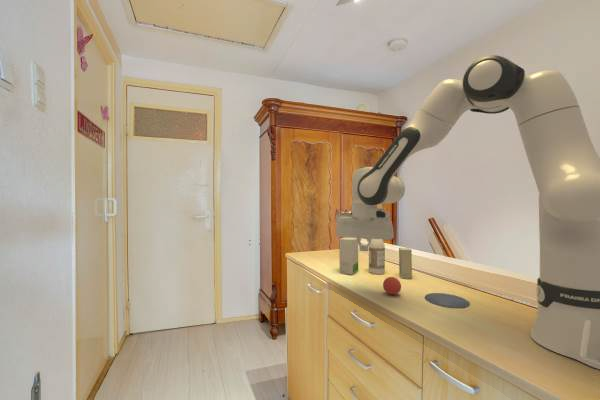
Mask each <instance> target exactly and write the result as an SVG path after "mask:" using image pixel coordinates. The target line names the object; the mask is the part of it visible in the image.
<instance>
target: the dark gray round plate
mask: <svg viewBox="0 0 600 400" xmlns="http://www.w3.org/2000/svg"><path fill="white" fill-rule="evenodd" d="M424 299H425V300H426V302H429V303H430V304H433V305H436V306H439V307H444V308H449V309H451V308H452V309H464V308H468V307H469V306H470V305H471V304H470V302H469V301H468V300H467V299H466V298H464V297H461V296H457V295H455V294H450V293H444V292H443V293H442V292H431V293H428V294H425V296H424Z"/></svg>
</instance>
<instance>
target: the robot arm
mask: <svg viewBox="0 0 600 400" xmlns="http://www.w3.org/2000/svg"><path fill="white" fill-rule="evenodd" d="M525 73H526V72H525V69H524V68H522V67H521V66H519V65H517V64H515V63H514V62H513V61H511V60H510V59H508V58H506V57H504V56H501V55H498V54H497V55H496V54H491V55H485V56H482V57H480V58H478V59H476V60H475V61H473V63H472V64H471V65H469V66H468V68H467V69H466V70H465V73H464V75H463V78H462V80H460V79H458V78H457V79H456V78H445V79H444V80H442V81H440V82H439V83H438V84H436V85H437V86H435V87H434V89H433V90H432V91H431V92H430V93H429V95H428V96H427V97H426V98H425V99H424V101H423V102H422V103H421V105H420V107H419V109H418V110H417V111H416V113H415V114H414V115H413V117H412V119H411V120H410V121H409V123H408V124H407V125H406V126H405V128H403V130H401V132H399V134H398V135H397V136H396V137H395V138H394V139H393V141H392V142H391V143H390V145H389V146H388V148H387V149H386V150H385V152H383V154H382V155H381V156H380V158H379V159H378V160H377V162H376V163H375V165H374V166H370V165H369V166H368V165H367V166H362V167H359V168H357V169H356V170H354V172H353V175H352V182H351V193H352V201H351V211H340V212H339V213H337V214H336V215H335V222H336V228H335V234H336V236H337V238H345V237H349V238H357V243H358V247H359V251H362V252H363V251H364V252H369V244H370V243H371V241H372V239H382V240H386V241H387V240H388V241H389V240H393V238H394V235H395V234H394V227H393V221H392V219H390V217H391V213H390V212H389V211H388V210H385V209H382V208H378V205H385V204H388V205H389V204H395V203H397V202H399V201H400V200H401V199H403V197H404V195H405V191H406V189H405V188H406V187H405V184H404V182H403V180H402V179H401V178H399V177H397V176H395V175H396V173H398V170H400V168H401V167H402V166H403V165H404V163H405V162H406V161H407V160H408V158H409V157H411V156H412V155H413V154H416V153H417V152H420V151H423V150H426V149H431V148H433V147H436V146H437V145H439V144H440V143H441V142H442V141H443V140H444V139H445V138H446V137H447V136H448V134H449V133H450V131H451V130H452V129H453V127H454V126H455V124H457V122H458V120H459V119H460V118H461V117H462V115H463V114H464V113H466V112H468V111H469V110H470V112H473V113H483V114H488V115H489V114H492V115H493V114H494V115H495V114H500V113H504V112H507V111H508V110H509V109H510V110H511V111H512V113H513V114H514V117H515V120H516V123H517V127H518V131H519V135H520V138H521V141H522V144H523V148H524V151H525V155H526V157H527V160H528V163H529V165H530V169H531V172H532V174H533V175H532V176H533V178H534V181H535V185H536V187H537V191H538V193H539V194H538V228H539V229H538V230H539V234H538V235H539V277H538V278H537V280H536V281H537V282H536V301H537V303H538V304H537V310H536V311H537V312H536V316H535V320H534V324H533V327H532V329H531V332H530V337H531V339H532V340H533V341H534V342H536V343H537V344H538V345H540V346H542V347H544V348H545V349H548V350H549V351H552V352H555V353H557V354H559V355H562V356H565V357H568V358H571V359H574V360H576V361H578V362H581V363H583V364H586V366H589V367H592V368H595V369H596V370H600V155H599V154H598V152H597V150H596V149H595V147H594V145H593V142H592V140H591V136H590V134H589V131H588V128H587V126H586V122H585V119H584V116H583V114H582V110H581V107H580V105H579V101H578V99H577V97H576V95H575V93H574V91H573V89H572V87H571V85H570V84H569V83H570V82H568V80H567V79H566V77H565V76H564V75H563V74H562V72H560V71H558V70H555V69H554V70H553V69H548V70H547V69H546V70H541V71H537V72H534V73H532V74H529V75H526V74H525ZM362 239H366V242H367V244H366V245H363V244H362Z"/></svg>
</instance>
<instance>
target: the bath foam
mask: <svg viewBox="0 0 600 400" xmlns="http://www.w3.org/2000/svg"><path fill="white" fill-rule="evenodd" d="M385 271H386V247H385V242H384V239H372V241H371V243H370V244H369V246H368V273H370V274H373V275H384V274H385Z"/></svg>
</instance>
